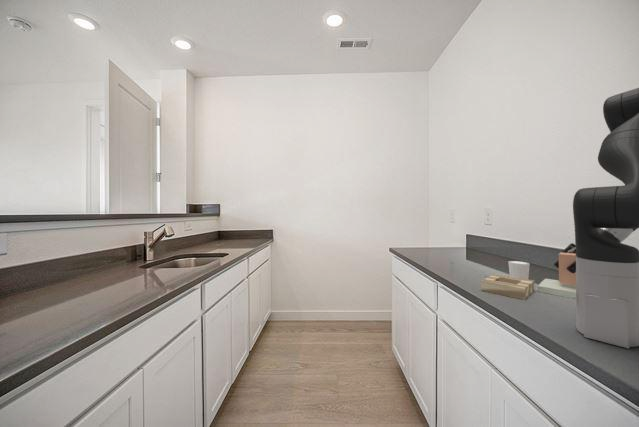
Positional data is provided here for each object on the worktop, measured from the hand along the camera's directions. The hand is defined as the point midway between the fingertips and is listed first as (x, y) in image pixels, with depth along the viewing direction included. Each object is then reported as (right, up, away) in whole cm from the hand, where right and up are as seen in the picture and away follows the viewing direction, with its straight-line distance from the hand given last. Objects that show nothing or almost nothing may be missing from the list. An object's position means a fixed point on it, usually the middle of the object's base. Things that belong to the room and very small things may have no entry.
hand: (562, 268), depth 84 cm
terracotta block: (+2, -5, 0) cm, 5 cm away
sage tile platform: (+2, -8, 0) cm, 8 cm away
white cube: (-2, -8, +16) cm, 18 cm away
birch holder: (-17, -8, +2) cm, 19 cm away
